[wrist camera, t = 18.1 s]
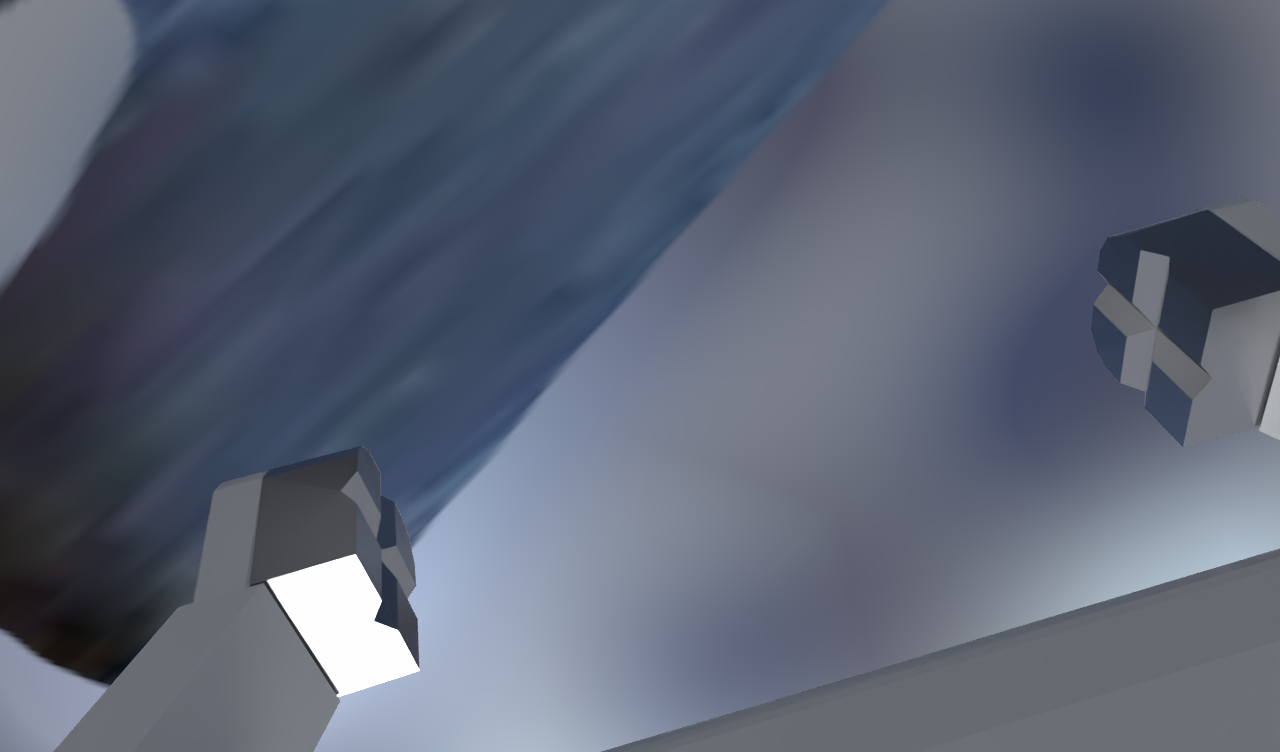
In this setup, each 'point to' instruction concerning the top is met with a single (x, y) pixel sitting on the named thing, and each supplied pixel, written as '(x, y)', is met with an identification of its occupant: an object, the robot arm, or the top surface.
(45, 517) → the top surface
